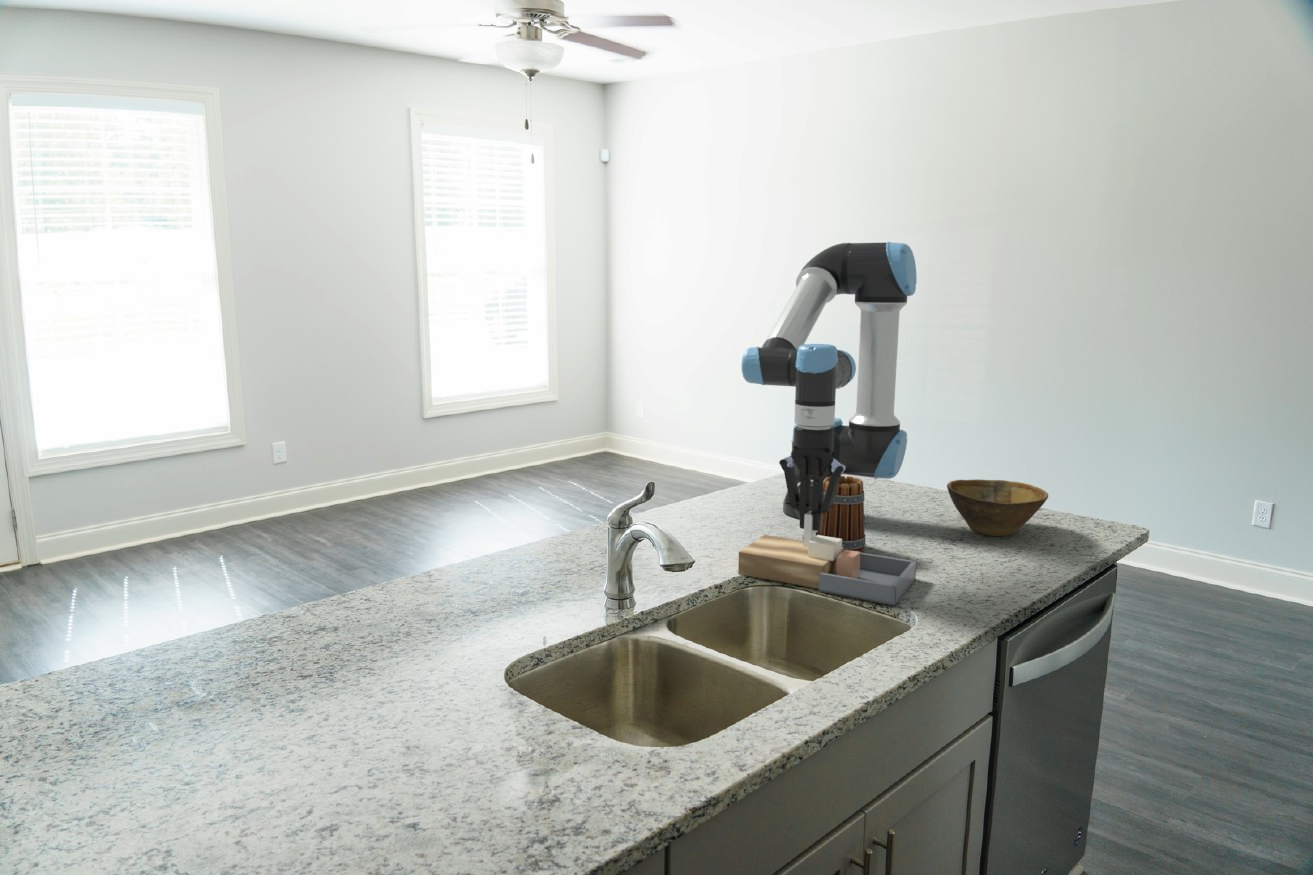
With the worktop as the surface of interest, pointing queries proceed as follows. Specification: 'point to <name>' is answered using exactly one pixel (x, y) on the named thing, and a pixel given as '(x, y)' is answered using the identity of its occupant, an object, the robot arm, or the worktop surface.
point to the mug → (844, 514)
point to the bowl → (995, 504)
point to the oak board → (783, 561)
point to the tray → (873, 580)
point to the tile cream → (825, 547)
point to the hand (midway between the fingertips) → (809, 545)
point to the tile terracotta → (849, 564)
